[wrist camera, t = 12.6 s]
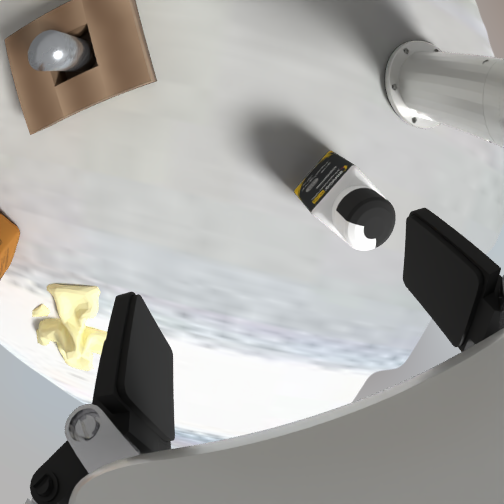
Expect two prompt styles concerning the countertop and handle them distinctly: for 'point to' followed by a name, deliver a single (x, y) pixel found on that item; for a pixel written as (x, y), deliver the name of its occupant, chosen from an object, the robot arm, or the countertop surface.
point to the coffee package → (7, 243)
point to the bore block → (86, 82)
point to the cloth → (72, 324)
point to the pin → (60, 52)
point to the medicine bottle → (347, 202)
